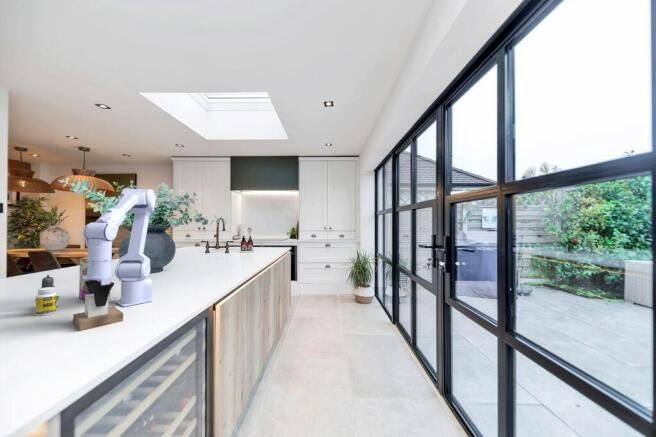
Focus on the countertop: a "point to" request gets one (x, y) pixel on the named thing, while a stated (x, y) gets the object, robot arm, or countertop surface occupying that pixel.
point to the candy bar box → (83, 272)
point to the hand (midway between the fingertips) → (98, 304)
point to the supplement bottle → (45, 301)
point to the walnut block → (97, 319)
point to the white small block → (94, 307)
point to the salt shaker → (48, 284)
